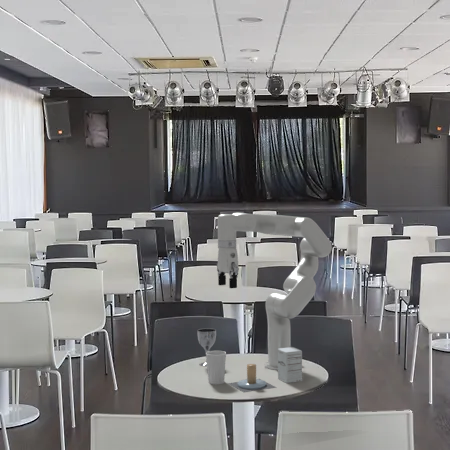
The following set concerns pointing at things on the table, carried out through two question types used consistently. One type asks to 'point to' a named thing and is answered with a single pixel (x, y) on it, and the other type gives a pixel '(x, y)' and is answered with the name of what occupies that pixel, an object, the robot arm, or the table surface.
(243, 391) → the mat
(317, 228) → the robot arm
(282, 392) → the table surface
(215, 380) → the cup
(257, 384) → the lid
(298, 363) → the supplement box
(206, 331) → the wine glass
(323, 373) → the table surface
